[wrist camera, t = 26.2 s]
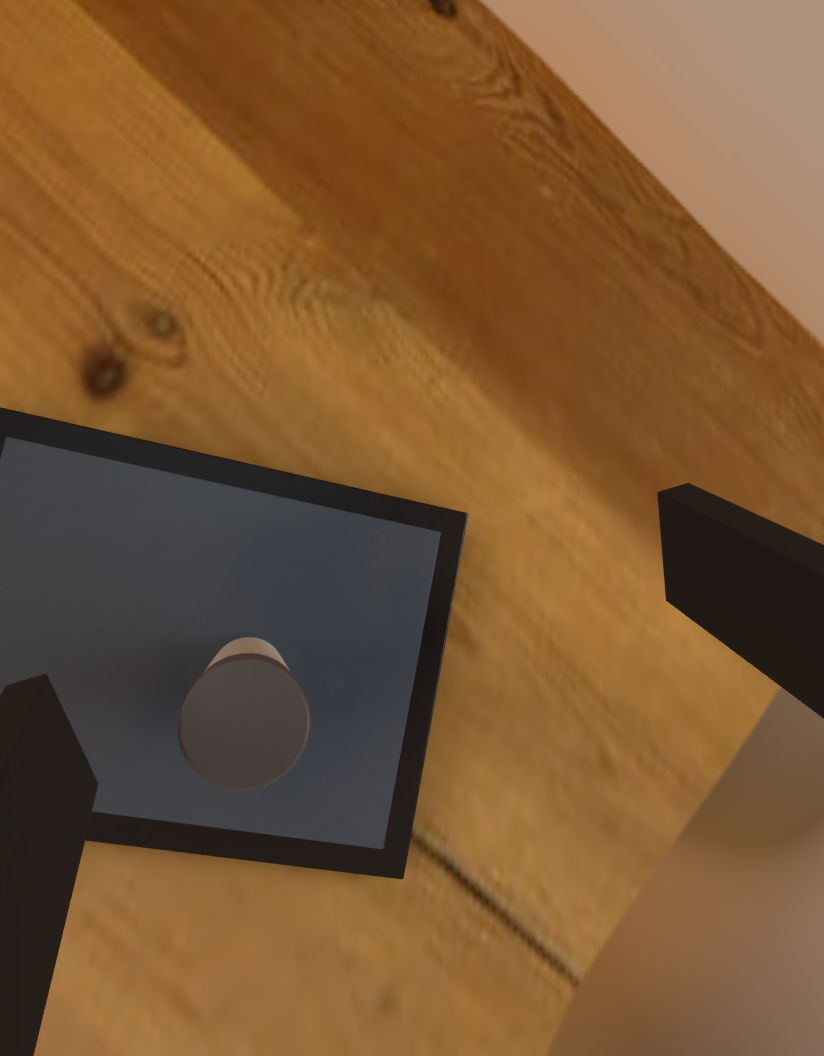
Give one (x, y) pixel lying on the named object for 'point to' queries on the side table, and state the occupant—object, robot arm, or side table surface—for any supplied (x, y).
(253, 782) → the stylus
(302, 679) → the tablet
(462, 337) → the side table surface
